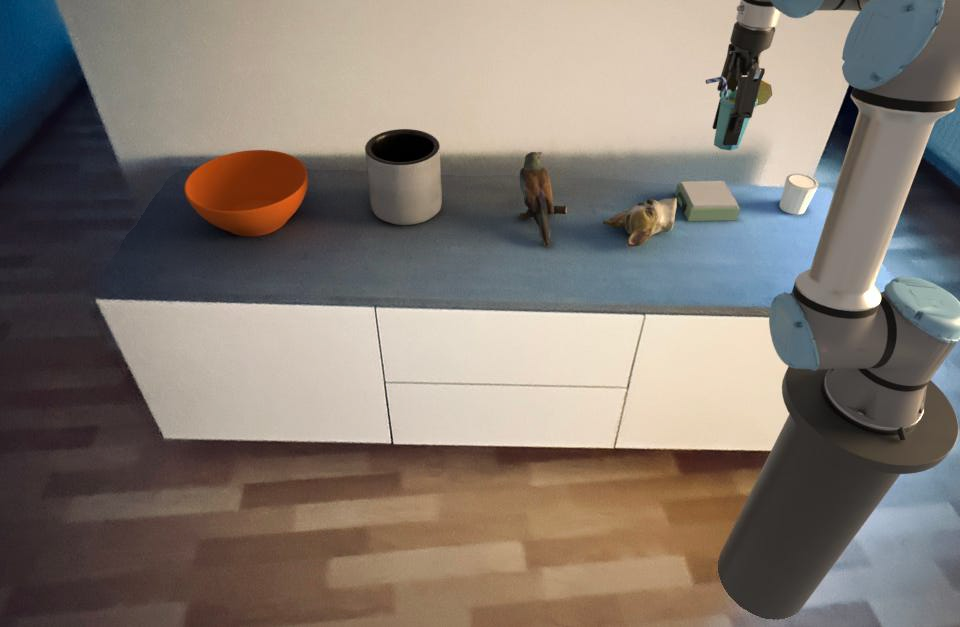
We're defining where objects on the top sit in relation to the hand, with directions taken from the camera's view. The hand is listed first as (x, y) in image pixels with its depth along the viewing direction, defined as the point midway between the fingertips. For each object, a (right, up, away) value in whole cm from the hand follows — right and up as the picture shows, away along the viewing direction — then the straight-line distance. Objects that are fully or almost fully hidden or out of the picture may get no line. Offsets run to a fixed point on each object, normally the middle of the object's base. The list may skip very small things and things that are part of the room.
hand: (724, 136), depth 142 cm
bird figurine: (-38, -17, +7) cm, 42 cm away
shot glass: (+20, -13, +12) cm, 27 cm away
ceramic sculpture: (-17, -20, +4) cm, 27 cm away
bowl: (-101, -17, +7) cm, 103 cm away
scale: (0, -13, +12) cm, 18 cm away
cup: (0, -2, +1) cm, 2 cm away
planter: (-68, -14, +10) cm, 70 cm away
